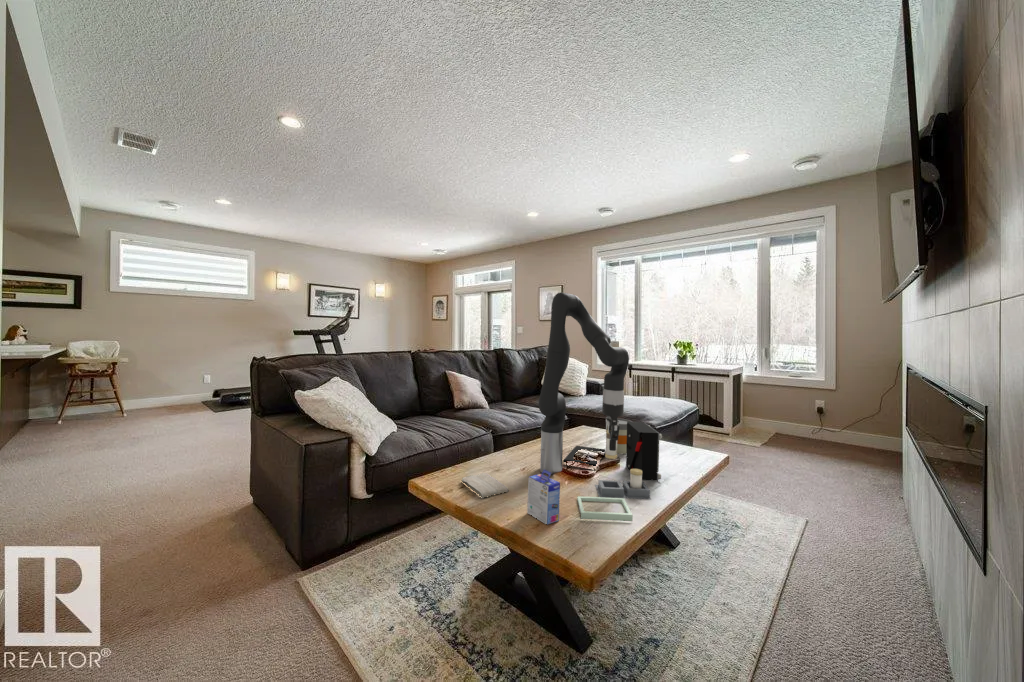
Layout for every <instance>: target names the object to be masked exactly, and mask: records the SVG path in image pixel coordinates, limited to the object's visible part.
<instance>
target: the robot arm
mask: <svg viewBox="0 0 1024 682" xmlns="http://www.w3.org/2000/svg"><path fill="white" fill-rule="evenodd" d="M550 312H551V313H550V328H549V329H550V330H549V338H548V347H547V352H546V359H545V360H546V361H545V367H544V375H543V381H542V386H541V390H540V394H539V398H538V409H539V412H540V413H541V415H543V416H545V417H544V419H543V421H542V422H541V427H540V461H539V462H540V466H539V469H540V474H542V472H543V470H546V471H548V472H551V475H555V473H560V472H562V471H563V451H564V450H563V445H564V444H563V443H564V439H563V438H564V437H563V436H564V425H566V424H565V423H566V422H565V421H566V411H567V402H566V398H565V397H564V395H563V394H562V393H560V392H559V390H560V384H561V380H562V379H563V378H564V375H565V373H566V370H567V368H568V364H569V361H570V355H571V354H570V353H571V347H570V341H569V339H568V335H567V333H566V321H567V317H571V318H573V319H574V320H575V321H576V322H577V323H578V324H579V325H580V327H581V328H580V329H581V332H582V334H583V337H584V338H585V340H586V341H587V342H588V343H589V344H590V346H592V347H593V348H594V350H595V353H596V354H597V357H598V358H599V360H600V362H601V363H602V364H604V365H605V366H607V367H608V368H610V370H609V372H607V373H606V374H604V379H603V393H602V405H601V406H602V407H601V408H602V409H601V412H602V414H603V415H604V416H606V417H605V430H606V429H608V433H609V436H610V438H609V439H610V443H609V449H610V451H615V450H616V441H617V440H618V436H619V428H620V426H619V421H617V419H618V417H623V415H624V412H625V411H624V409H625V407H624V406H625V403H624V402H625V391H624V390H625V389H624V388H625V377H626V373H627V370H628V367H629V363H630V355H629V352H628V351H627V349H626V348H625V347H622V346H612V345H611V342H612V339H611V338H610V336H609V334H607V332H605V331H604V330H603V328H602V327H601V326H600V325H599V324H598V323H597V322H596V320H595V319H594V318H593V317H592V315H591V314H590V312H589V311H588V309H587V308H586V306H585V304H584V303H583V301H582V300H581V299H580V298H579V296H577V295H576V294H574V293H573V294H572V293H568V292H557V293H556V294H555V295H554V297H553V299H552V301H551V311H550ZM610 430H611V431H610ZM613 435H615V437H613ZM545 474H547V473H545ZM547 475H548V474H547Z"/></svg>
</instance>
